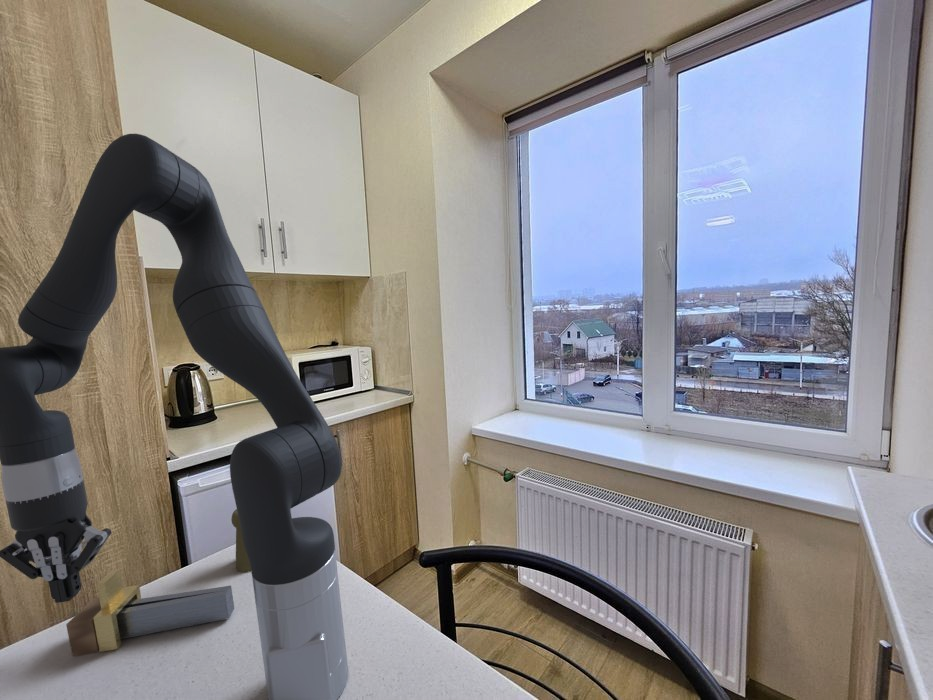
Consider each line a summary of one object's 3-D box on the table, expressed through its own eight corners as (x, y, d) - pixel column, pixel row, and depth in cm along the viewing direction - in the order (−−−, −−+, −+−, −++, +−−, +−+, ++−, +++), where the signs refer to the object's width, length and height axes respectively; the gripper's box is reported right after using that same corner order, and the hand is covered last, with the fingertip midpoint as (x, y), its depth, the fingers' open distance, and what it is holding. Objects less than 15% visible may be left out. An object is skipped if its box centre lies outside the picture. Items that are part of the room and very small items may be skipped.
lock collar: (99, 652, 55) (88, 591, 54) (128, 618, 61) (118, 563, 60) (117, 649, 55) (106, 588, 54) (144, 616, 61) (134, 561, 60)
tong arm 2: (118, 631, 58) (113, 606, 58) (123, 625, 59) (118, 601, 59) (231, 613, 61) (228, 589, 60) (234, 608, 61) (231, 585, 61)
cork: (227, 569, 72) (219, 513, 71) (253, 549, 78) (247, 497, 76) (253, 574, 70) (245, 517, 69) (278, 553, 76) (271, 500, 75)
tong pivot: (72, 656, 55) (66, 624, 54) (99, 627, 60) (93, 598, 59) (98, 651, 55) (92, 620, 55) (122, 623, 60) (117, 594, 60)
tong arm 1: (109, 640, 57) (105, 616, 56) (114, 635, 58) (110, 610, 57) (229, 618, 60) (225, 594, 59) (231, 613, 61) (228, 589, 60)
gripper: (117, 469, 59) (135, 573, 61) (17, 480, 57) (39, 587, 59) (77, 492, 52) (99, 610, 54) (-40, 505, 50) (-13, 627, 52)
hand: (67, 598), depth 57 cm, fingers closed
